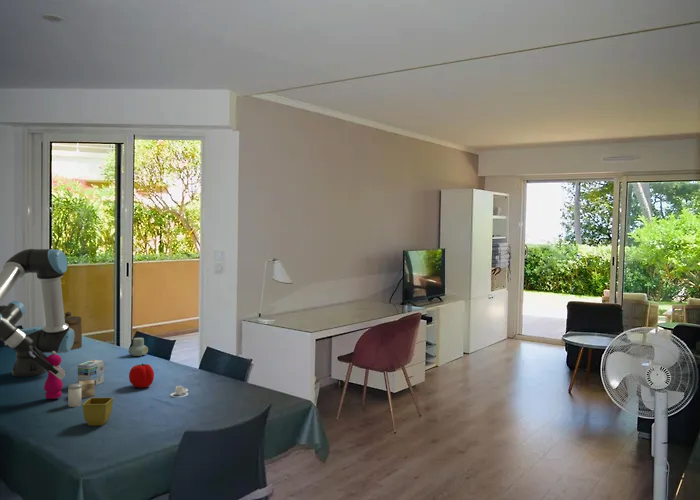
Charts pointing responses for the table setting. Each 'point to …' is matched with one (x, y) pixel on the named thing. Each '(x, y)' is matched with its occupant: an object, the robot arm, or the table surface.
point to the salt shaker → (74, 395)
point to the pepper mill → (53, 378)
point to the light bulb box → (91, 371)
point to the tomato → (141, 375)
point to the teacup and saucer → (180, 391)
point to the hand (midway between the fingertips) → (63, 375)
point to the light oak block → (87, 388)
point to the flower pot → (97, 410)
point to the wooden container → (74, 329)
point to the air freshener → (138, 347)
